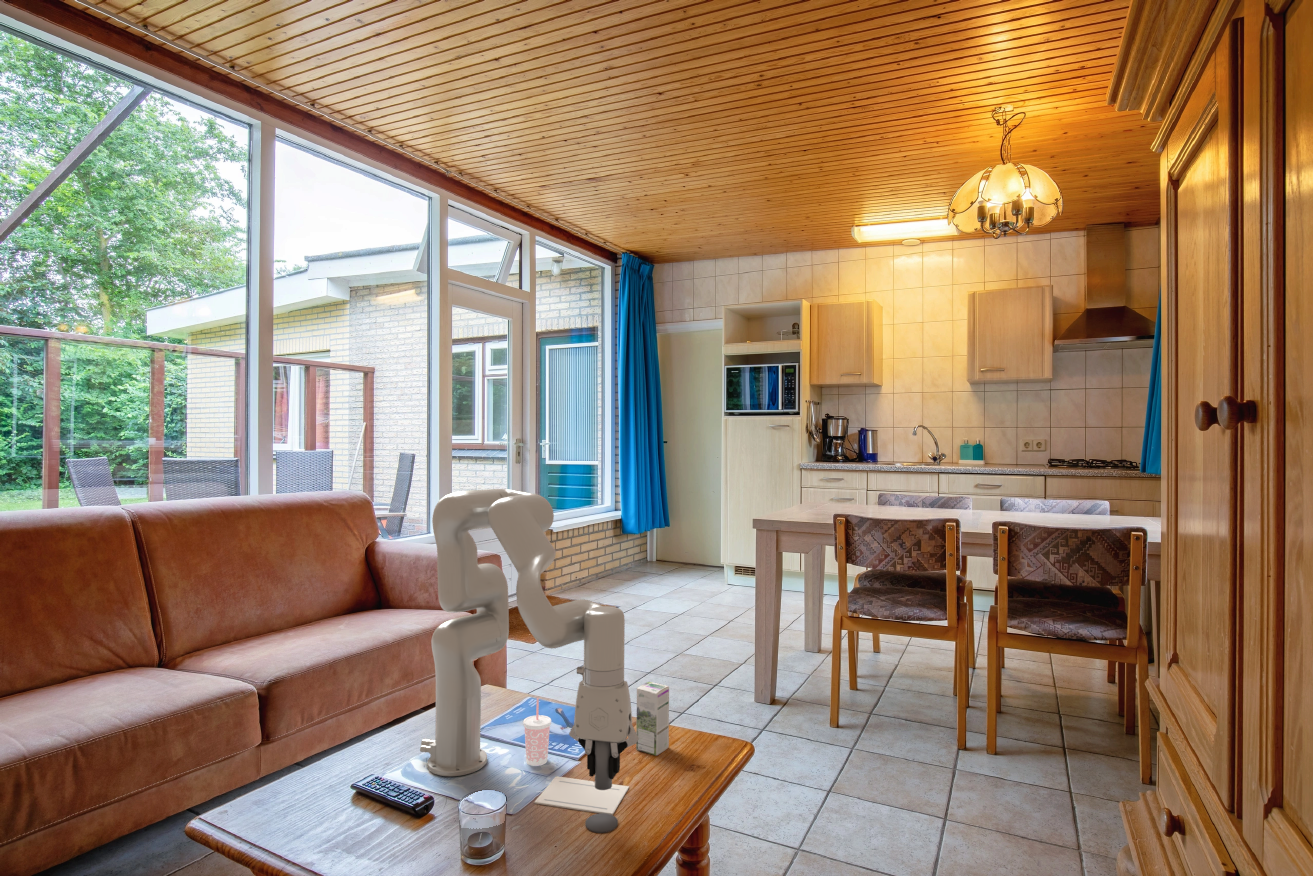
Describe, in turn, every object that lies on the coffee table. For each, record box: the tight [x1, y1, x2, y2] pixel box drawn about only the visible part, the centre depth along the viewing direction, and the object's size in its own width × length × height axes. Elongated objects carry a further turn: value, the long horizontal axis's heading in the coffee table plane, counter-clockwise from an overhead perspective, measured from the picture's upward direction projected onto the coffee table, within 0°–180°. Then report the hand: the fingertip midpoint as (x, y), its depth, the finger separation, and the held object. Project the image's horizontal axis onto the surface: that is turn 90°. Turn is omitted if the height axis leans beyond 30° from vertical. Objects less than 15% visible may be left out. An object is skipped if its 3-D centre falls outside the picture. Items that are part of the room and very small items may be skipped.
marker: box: [594, 741, 613, 790], centre depth 132 cm, size 3×3×11 cm
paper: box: [534, 776, 630, 816], centre depth 143 cm, size 16×11×1 cm
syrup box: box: [635, 681, 670, 756], centre depth 165 cm, size 6×6×14 cm
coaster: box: [584, 813, 619, 834], centre depth 132 cm, size 6×6×1 cm
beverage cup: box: [522, 697, 552, 767], centre depth 158 cm, size 6×6×14 cm
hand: (603, 773), depth 132 cm, fingers closed on marker, 3 cm apart
